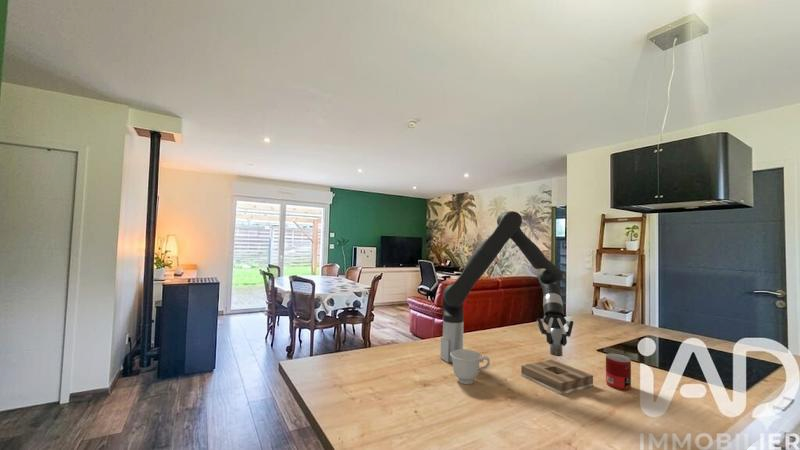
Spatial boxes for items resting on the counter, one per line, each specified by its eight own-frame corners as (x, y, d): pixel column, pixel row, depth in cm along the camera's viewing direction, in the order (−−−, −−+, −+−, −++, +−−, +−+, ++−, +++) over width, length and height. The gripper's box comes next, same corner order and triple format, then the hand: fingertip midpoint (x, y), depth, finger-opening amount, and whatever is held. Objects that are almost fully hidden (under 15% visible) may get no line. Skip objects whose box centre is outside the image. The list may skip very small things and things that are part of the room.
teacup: (490, 390, 119) (491, 362, 120) (448, 385, 122) (449, 358, 123) (488, 377, 131) (488, 351, 131) (450, 373, 134) (450, 348, 134)
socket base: (560, 394, 117) (560, 383, 117) (521, 375, 133) (521, 365, 133) (593, 386, 125) (593, 375, 125) (552, 368, 141) (552, 359, 141)
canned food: (630, 392, 120) (630, 362, 121) (604, 386, 125) (604, 356, 126) (631, 385, 126) (631, 356, 127) (606, 380, 131) (606, 351, 132)
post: (557, 357, 127) (557, 330, 127) (547, 353, 131) (547, 327, 131) (565, 355, 129) (565, 329, 129) (555, 351, 133) (555, 326, 133)
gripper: (535, 300, 140) (537, 337, 128) (573, 302, 135) (579, 341, 123) (534, 310, 145) (536, 346, 133) (570, 313, 140) (576, 351, 128)
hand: (557, 343), depth 128 cm, fingers closed on post, 4 cm apart
